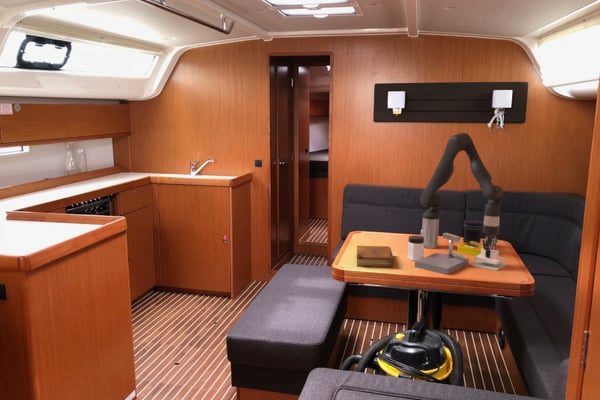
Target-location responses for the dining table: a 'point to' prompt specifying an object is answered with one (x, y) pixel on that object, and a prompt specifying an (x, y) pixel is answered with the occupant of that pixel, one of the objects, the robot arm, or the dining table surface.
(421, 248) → the jar
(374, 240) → the dining table surface
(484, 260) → the cover
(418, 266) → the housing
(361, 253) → the diary
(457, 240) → the t key
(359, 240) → the dining table surface
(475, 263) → the mat
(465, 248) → the element tile
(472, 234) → the storage jar
